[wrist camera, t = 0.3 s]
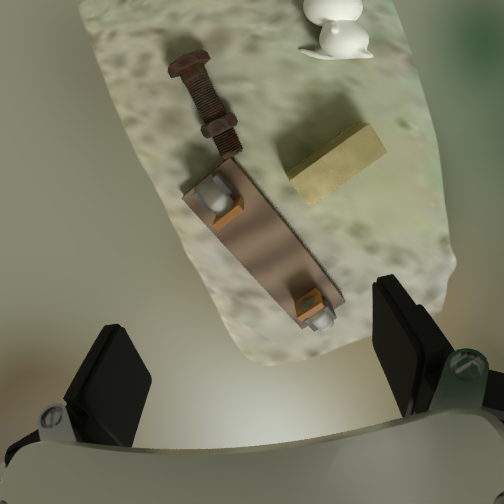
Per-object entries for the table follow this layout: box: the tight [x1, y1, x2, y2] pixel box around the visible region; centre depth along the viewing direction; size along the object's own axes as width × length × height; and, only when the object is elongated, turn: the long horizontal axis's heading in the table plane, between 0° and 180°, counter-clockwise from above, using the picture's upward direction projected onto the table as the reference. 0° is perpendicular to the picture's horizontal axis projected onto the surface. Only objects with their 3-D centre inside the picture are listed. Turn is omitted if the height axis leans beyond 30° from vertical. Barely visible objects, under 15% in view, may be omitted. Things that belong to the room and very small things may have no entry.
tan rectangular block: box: [286, 122, 387, 207], centre depth 40 cm, size 4×13×6 cm, turn 129°
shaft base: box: [182, 157, 345, 332], centre depth 45 cm, size 30×9×6 cm, turn 39°
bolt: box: [168, 50, 243, 159], centre depth 37 cm, size 6×5×15 cm
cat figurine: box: [299, 0, 374, 60], centre depth 31 cm, size 9×11×12 cm
